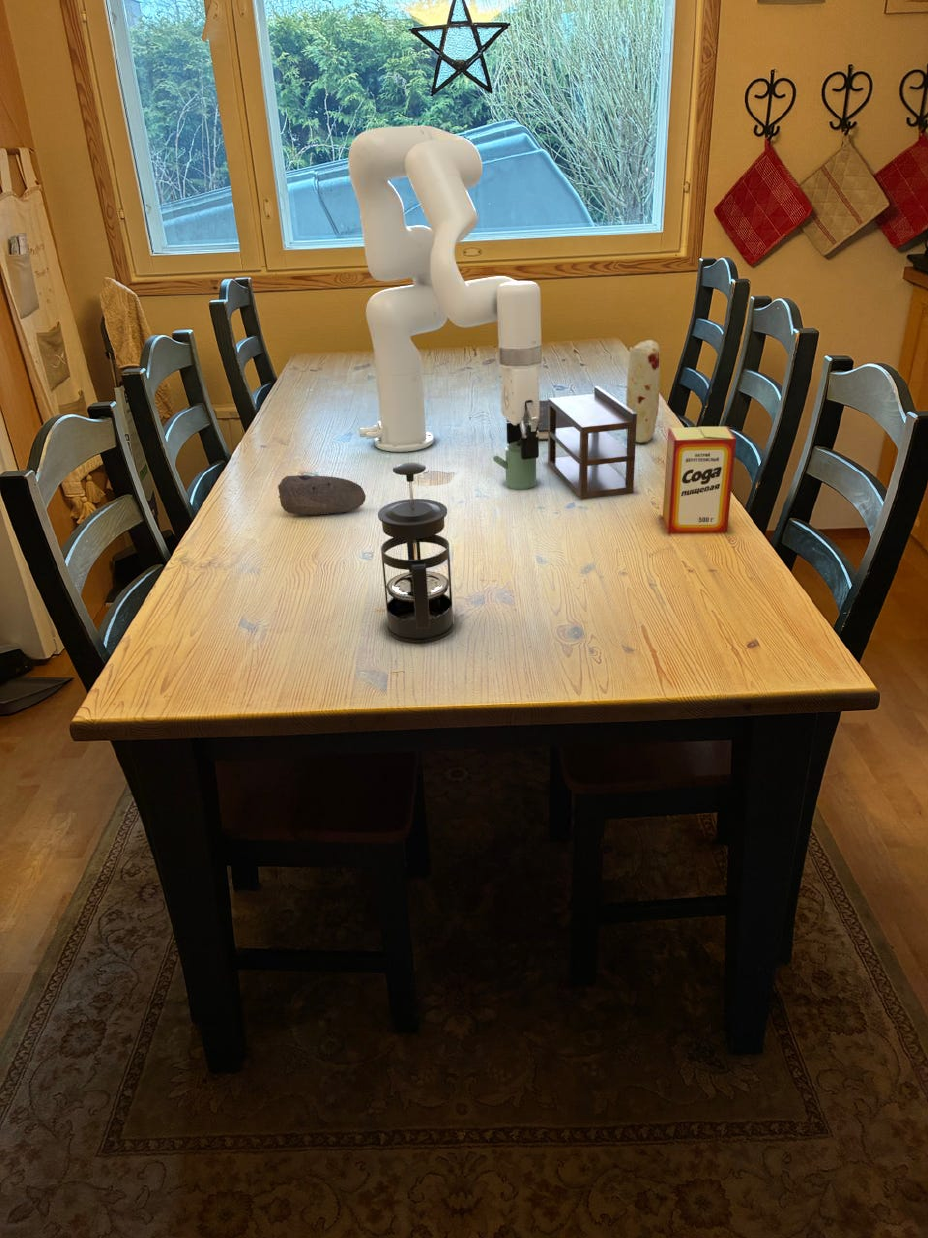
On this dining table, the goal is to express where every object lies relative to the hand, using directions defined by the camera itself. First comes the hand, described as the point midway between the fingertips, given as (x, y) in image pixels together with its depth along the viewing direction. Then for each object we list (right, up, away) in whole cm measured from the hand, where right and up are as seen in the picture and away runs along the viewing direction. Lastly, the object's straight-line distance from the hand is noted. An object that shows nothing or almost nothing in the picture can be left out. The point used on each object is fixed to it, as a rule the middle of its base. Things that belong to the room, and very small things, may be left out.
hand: (522, 450), depth 173 cm
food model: (+26, +7, +24) cm, 37 cm away
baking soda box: (+27, -16, -17) cm, 36 cm away
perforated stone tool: (-35, -12, -5) cm, 38 cm away
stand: (+13, -4, +5) cm, 14 cm away
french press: (-17, -32, -44) cm, 57 cm away
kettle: (-1, -6, +3) cm, 7 cm away
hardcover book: (+10, +12, +36) cm, 39 cm away
